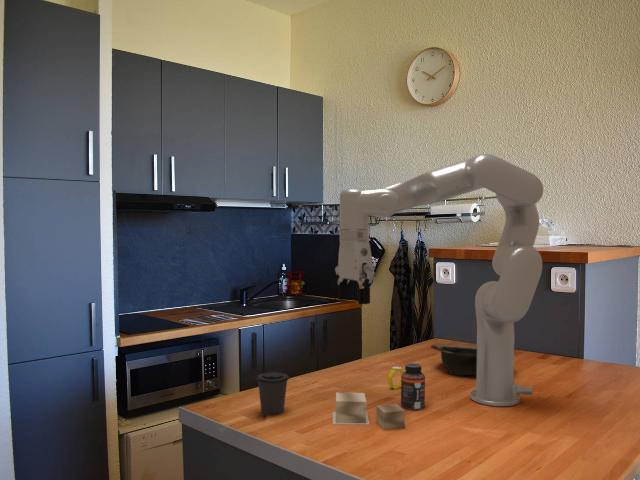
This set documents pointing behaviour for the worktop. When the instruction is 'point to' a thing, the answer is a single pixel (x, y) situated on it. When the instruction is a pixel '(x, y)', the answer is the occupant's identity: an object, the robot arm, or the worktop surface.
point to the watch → (392, 376)
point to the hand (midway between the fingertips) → (353, 301)
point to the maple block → (350, 408)
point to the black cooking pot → (459, 359)
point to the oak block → (390, 416)
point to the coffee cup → (272, 392)
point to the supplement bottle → (413, 388)
